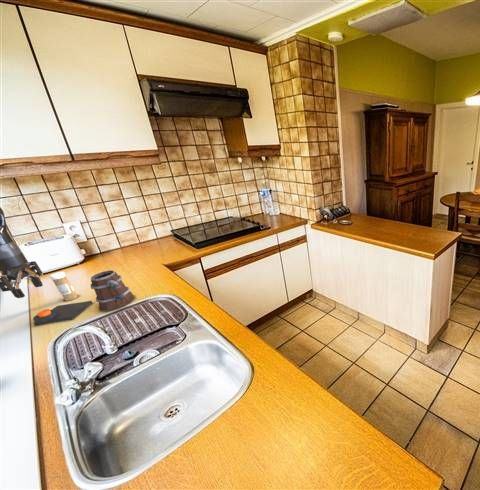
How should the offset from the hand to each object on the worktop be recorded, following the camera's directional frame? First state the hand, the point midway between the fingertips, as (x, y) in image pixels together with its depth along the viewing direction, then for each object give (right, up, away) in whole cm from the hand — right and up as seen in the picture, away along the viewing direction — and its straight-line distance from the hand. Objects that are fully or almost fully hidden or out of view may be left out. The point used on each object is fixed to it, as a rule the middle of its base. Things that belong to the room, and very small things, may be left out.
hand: (30, 291), depth 105 cm
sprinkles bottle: (-6, -7, +20) cm, 22 cm away
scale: (+4, -11, +9) cm, 15 cm away
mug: (+23, -8, +14) cm, 28 cm away
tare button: (+1, -10, +4) cm, 11 cm away
